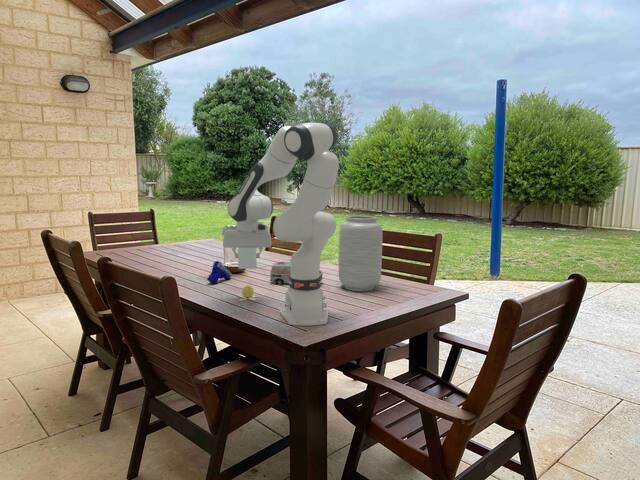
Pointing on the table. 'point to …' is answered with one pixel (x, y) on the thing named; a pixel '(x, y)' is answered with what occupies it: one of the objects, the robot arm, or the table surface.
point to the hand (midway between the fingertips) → (247, 257)
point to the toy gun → (219, 273)
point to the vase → (360, 253)
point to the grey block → (247, 257)
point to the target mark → (247, 298)
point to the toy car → (283, 273)
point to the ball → (247, 291)
